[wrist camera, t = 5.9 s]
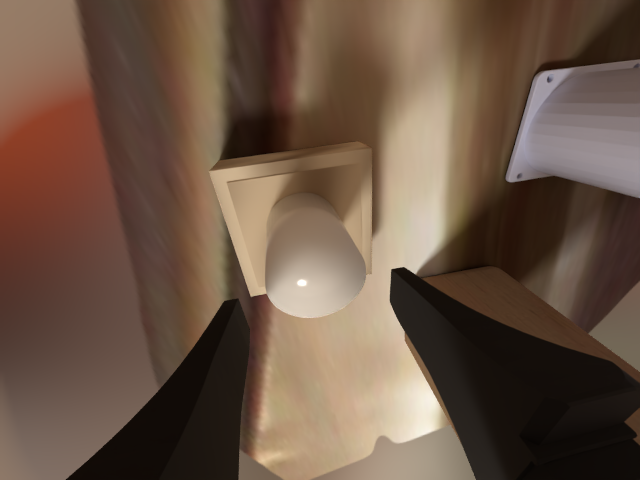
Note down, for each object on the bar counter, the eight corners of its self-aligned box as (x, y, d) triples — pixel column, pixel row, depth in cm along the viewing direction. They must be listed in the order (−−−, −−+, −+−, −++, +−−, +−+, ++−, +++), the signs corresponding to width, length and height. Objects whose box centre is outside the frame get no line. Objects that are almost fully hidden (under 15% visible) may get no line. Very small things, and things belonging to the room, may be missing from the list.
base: (358, 141, 18) (372, 148, 15) (360, 254, 23) (371, 274, 20) (218, 160, 17) (208, 171, 14) (253, 273, 22) (250, 297, 19)
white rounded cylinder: (339, 190, 16) (371, 232, 11) (336, 254, 19) (360, 311, 14) (262, 194, 15) (259, 240, 10) (269, 259, 18) (269, 323, 13)
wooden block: (496, 260, 26) (909, 557, 9) (474, 324, 31) (715, 592, 14) (408, 276, 25) (688, 641, 8) (400, 339, 30) (564, 646, 13)
